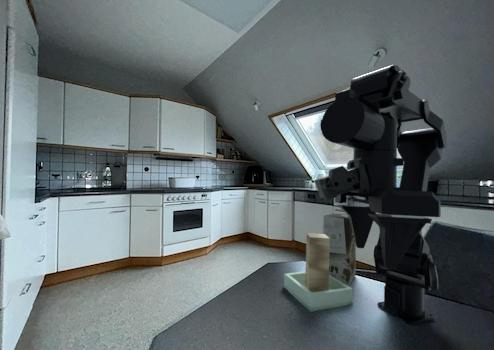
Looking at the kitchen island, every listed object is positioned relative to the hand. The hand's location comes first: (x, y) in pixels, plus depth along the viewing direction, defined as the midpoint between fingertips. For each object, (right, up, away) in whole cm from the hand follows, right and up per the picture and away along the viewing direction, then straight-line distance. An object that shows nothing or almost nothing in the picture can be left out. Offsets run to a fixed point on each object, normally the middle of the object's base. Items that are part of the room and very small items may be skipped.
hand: (372, 256), depth 33 cm
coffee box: (+5, -15, +23) cm, 28 cm away
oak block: (-4, -13, +14) cm, 20 cm away
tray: (-4, -14, +14) cm, 20 cm away
